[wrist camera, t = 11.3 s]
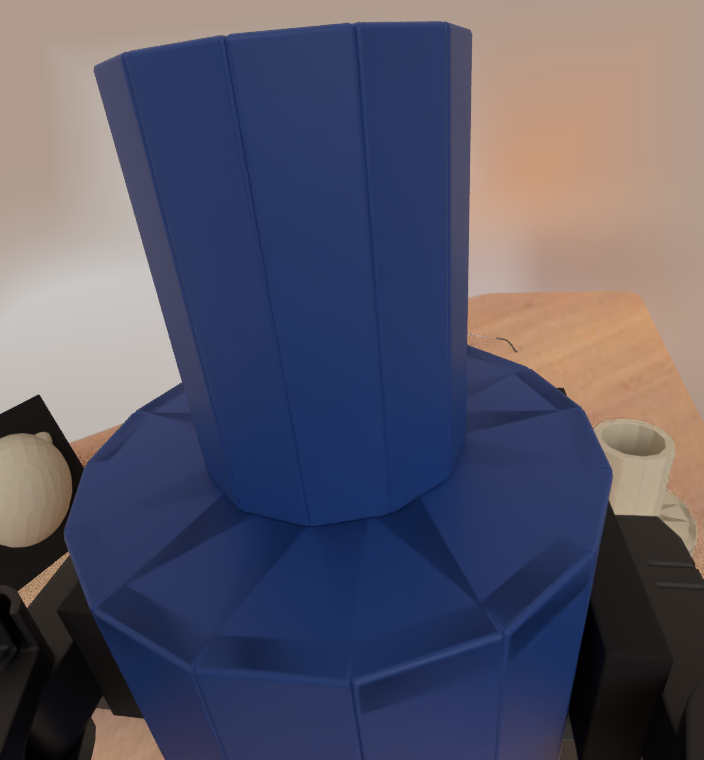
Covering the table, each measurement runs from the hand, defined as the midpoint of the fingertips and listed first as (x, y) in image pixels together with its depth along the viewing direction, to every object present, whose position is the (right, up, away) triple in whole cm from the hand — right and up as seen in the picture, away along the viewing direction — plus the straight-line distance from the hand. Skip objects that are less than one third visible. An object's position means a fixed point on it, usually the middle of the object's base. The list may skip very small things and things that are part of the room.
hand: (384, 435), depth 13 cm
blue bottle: (0, -10, 0) cm, 10 cm away
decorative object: (-29, -13, +33) cm, 45 cm away
